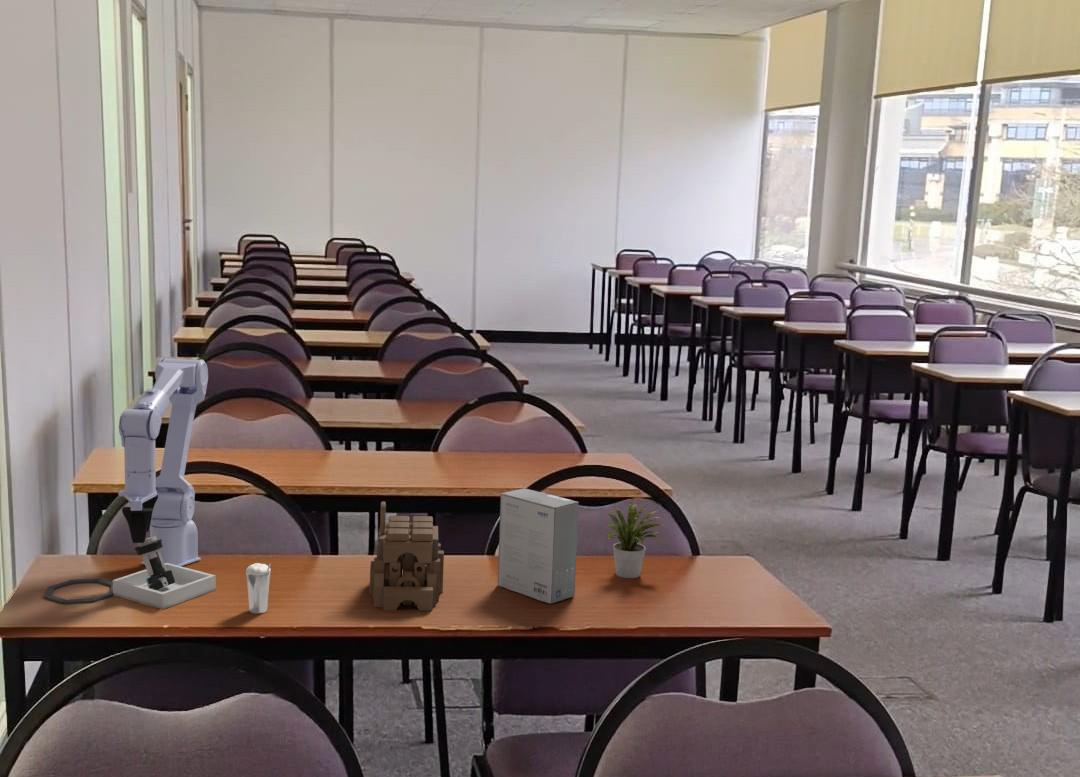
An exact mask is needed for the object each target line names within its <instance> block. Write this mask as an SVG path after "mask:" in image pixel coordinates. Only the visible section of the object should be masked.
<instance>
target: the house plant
mask: <svg viewBox="0 0 1080 777" xmlns="http://www.w3.org/2000/svg"><path fill="white" fill-rule="evenodd" d="M637 506H638V505H637V502H635V503H633V504H632V500H630V501H629V504H628V509H627V521H626V520H625V518H624V514H623V513H622V511H621V510H619V509H618V508H617V506H614V510H615V511H616V513H617V516H618V518H617V516H616V515H615V514H614V512H613V511H611V510H608V511H609V512H611V513H612V514H611V513H609V512H606V511H605V514H606V515H608V516H609V517H610V519H611V520H612V521H613V522H614V523H615V524H614V523H607V524H606V526H608V527H609V528H611V529H613V531H615V532H616V533H617V534H616V533H615V532H614V533H613V532H608V533H607V536H606V538H607V539H606V540H607V541H608V540H610V539H618V540H619V541H620V542H617V543H616V542H615V543H614V544H613V545H612V549H613V550H612V551H613V559H614V567H615V575H616V576H618V577H619V578H623V579H635V578H639V577H640V575H641V570H642V566H643V561H644V558H645V553H646V549H647V548H646V546H645V545H643V544H642V543H643V541H644V540H645V539H647V538H655V539H658V536H659V537H661V536H660V535H659V534H660V532H659V531H654V530H651V531H650V530H649V531H648V530H647V529H650V528H655V527H659V526H660V527H662V526H666V524H663V523H661V524H660V523H649V522H656V520H654V519H655V518H657V519H658V518H659V519H660V518H662V516H654V517H653V516H652V515H653V514H654V513H656V512H658V511H659V509H655V510H653V511H651V512H649V513H648V514H646V516H645V517H643V518H642V519H641V521H640V522H639V523H637V522H638V519H639V518H640V516H641V514H642V513H643V512H644V510H645V509H646V508H647V507H648V504H646V505H645V506H644V507H643V508H641V509H640V510H639V511H638V510H637ZM651 516H652V517H651ZM648 523H649V524H648ZM635 526H636V528H635ZM646 530H647V531H646ZM654 534H655V535H654Z"/></svg>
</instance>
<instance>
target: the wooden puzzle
mask: <svg viewBox="0 0 1080 777" xmlns="http://www.w3.org/2000/svg"><path fill="white" fill-rule="evenodd" d="M386 509H387V504H386V501H381V502H380V519H379V522H380V523H379V532H378V537H377V543H376V557H374V559H373V560H371V561H370V568H369V569H370V570H369V595H371V596H373V597H372V601H373V607H374V608H377V607H378V608H382V611H397V610H398V607H401V603H402V605H406V606H407V605H409V606H411V605H413V603H414V607H417V609H418V611H423V612H424V611H427V612H428V611H429V612H431V611H433V607H436V606H437V602H438V603H439V601H440V594H442V593H444V564H445V563H444V560H445V558H444V557H445V553H444V552H445V551H444V550H441V547H442V546H441V545H442V544H441V542H439V526H438V525H434V517H433V516H429V515H422V516H421V515H414V516H412V518H410V516H408V515H389V517H388V522H387V521H386V520H387V519H386V516H387V515H386V514H387V512H386V511H387V510H386ZM410 521H411V522H410Z"/></svg>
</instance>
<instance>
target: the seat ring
mask: <svg viewBox="0 0 1080 777" xmlns="http://www.w3.org/2000/svg"><path fill="white" fill-rule="evenodd" d="M90 583H92V584H93V583H98V584H100V585H104V586H109V587H110V589H109V592H106V593H103V594H100V595H97V596H94V597H92V598H75V599H74V598H71V599H65V598H63V597H59V596H55V595H53V593H54V591H55V590H57V589H61V588H63V587H67V586H70V585H72V584H73V585H74V584H90ZM43 595H44V596H43V598H44V599H45V600H49V601H52V602H56V603H59V604H62V605H63V604H64V605H70V604H71V605H72V604H85V603H86V604H87V603H89V604H90V603H96V602H98V601H101V600H104V599H107V598H110V597H114V596H115V595H114V593H113V581H110V580H107V579H103V578H97V577H96V578H81V579H80V578H79V579H69V580H66V581H62V582H60V583H57V584H53V585H50V586H47V588H46V591H45V593H44V594H43Z"/></svg>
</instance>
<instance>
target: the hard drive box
mask: <svg viewBox="0 0 1080 777" xmlns="http://www.w3.org/2000/svg"><path fill="white" fill-rule="evenodd" d="M499 498H500V501H499V502H500V504H499V506H500V507H499V530H498V532H499V534H498V536H499V537H498V538H499V539H498V561H497V562H498V564H497V568H498V570H497V586H499V587H502V588H505V589H507V590H510V591H512V592H516V593H518V594H521V595H523V596H526V597H529V598H532V599H534V600H537V601H540V602H544V603H546V604H549V605H550V604H554V603H557V602H560V601H564V600H566V599H570V598H573V597H575V595H576V575H577V574H576V573H577V571H576V569H577V548H578V525H579V524H578V522H579V520H578V519H579V503H580V502H579V501H575V500H572V499H568V498H564V497H561V496H557V495H553V494H551V493H550V494H548V493H546V492H540V491H538V490H532V489H528V488H519V489H514V490H511V491H506V492H502V493H500V497H499Z"/></svg>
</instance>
